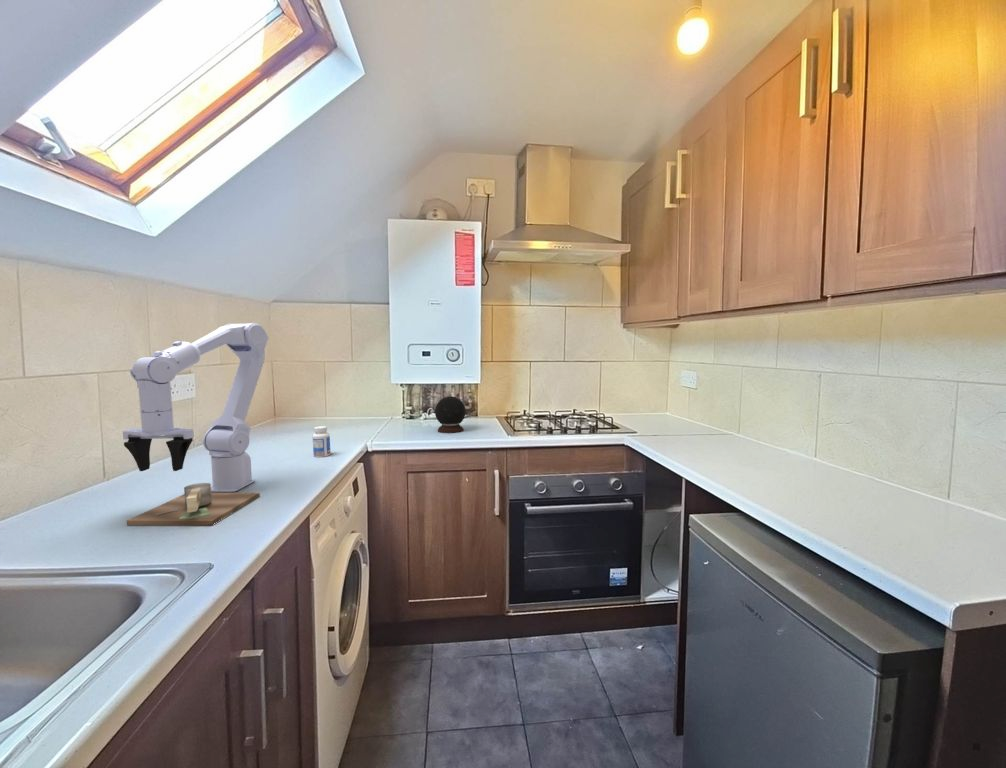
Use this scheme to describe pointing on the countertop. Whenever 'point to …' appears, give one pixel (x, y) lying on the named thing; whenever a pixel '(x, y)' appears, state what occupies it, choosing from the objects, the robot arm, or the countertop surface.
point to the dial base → (205, 515)
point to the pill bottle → (321, 442)
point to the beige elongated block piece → (197, 496)
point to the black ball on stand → (450, 414)
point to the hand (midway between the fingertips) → (161, 469)
